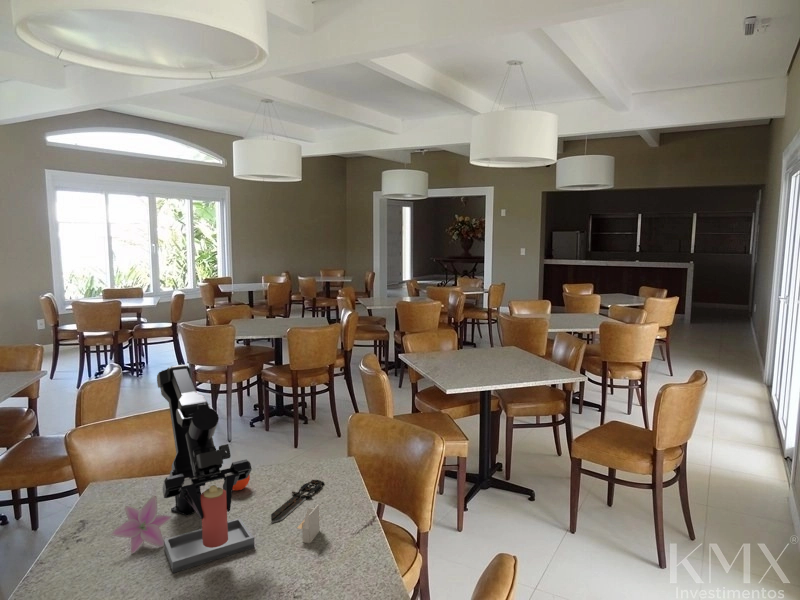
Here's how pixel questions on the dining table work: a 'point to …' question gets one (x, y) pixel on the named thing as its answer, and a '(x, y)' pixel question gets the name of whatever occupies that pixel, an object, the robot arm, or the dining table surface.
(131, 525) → the lily
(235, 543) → the tray
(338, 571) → the dining table surface
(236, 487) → the clementine
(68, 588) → the dining table surface
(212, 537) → the pepper mill
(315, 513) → the architectural model
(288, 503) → the knife
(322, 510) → the dining table surface
